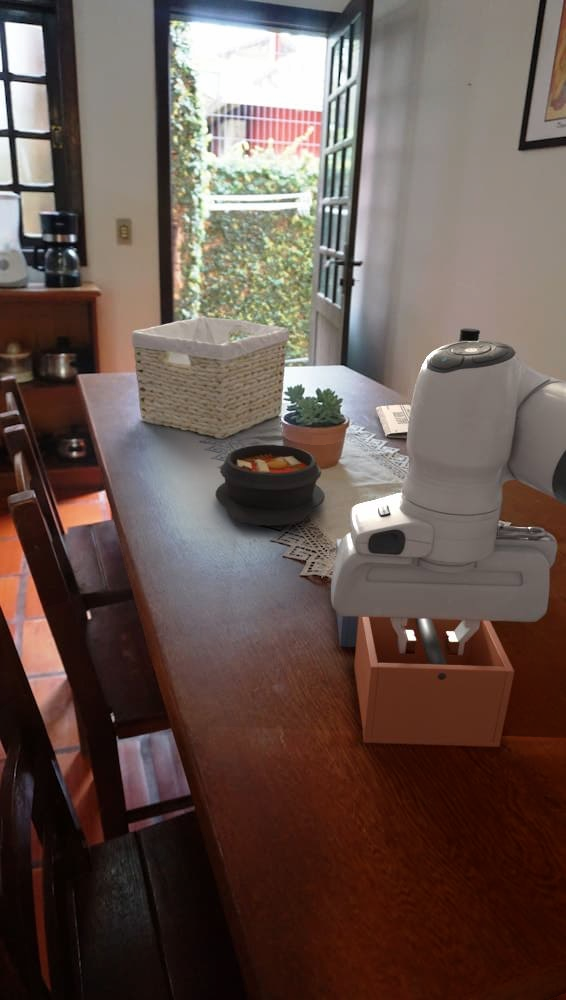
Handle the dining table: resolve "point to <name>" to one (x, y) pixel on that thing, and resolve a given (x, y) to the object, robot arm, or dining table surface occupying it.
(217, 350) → the basket
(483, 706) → the orange bin
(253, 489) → the casserole
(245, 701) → the dining table surface
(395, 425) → the newspaper
